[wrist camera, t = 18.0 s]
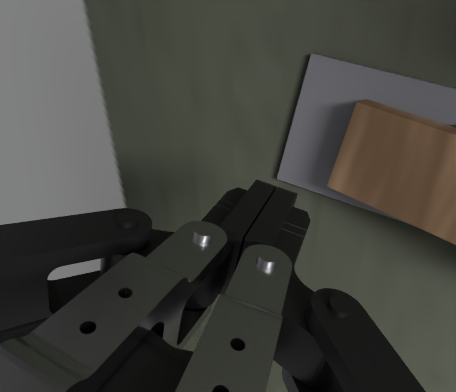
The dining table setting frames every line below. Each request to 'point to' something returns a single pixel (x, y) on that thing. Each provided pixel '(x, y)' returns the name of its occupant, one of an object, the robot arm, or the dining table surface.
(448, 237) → the domino
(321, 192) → the felt strip
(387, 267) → the dining table surface
